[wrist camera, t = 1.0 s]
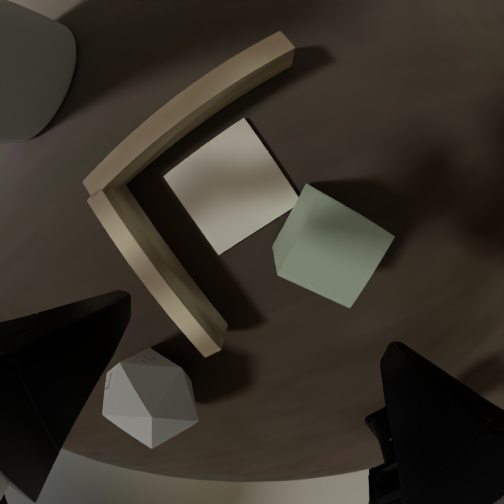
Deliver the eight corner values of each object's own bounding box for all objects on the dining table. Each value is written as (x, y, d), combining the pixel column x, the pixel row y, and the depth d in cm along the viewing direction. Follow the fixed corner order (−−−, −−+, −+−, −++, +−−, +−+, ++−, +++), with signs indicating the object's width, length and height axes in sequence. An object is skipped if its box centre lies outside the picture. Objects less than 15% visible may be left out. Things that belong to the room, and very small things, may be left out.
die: (191, 327, 24) (89, 356, 17) (235, 414, 22) (141, 465, 14) (157, 350, 29) (77, 374, 22) (191, 421, 26) (115, 455, 19)
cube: (365, 217, 20) (394, 236, 15) (331, 274, 21) (349, 308, 16) (306, 183, 19) (322, 193, 14) (272, 246, 20) (277, 274, 16)
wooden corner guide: (392, 227, 20) (412, 239, 16) (213, 332, 23) (205, 357, 20) (279, 50, 16) (280, 30, 13) (104, 181, 20) (78, 186, 17)
